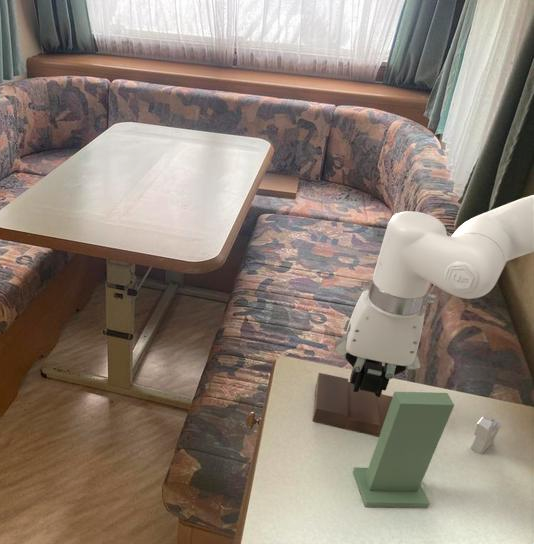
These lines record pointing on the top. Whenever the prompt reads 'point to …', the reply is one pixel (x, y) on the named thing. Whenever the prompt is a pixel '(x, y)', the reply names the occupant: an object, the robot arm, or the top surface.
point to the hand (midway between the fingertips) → (366, 387)
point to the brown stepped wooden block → (349, 406)
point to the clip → (371, 376)
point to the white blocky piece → (485, 434)
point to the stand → (404, 450)
